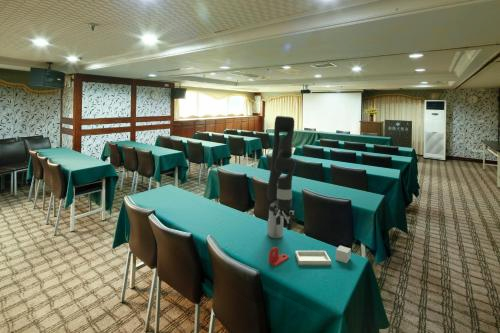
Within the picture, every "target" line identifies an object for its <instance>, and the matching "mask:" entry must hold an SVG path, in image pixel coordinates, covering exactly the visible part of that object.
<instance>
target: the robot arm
mask: <svg viewBox="0 0 500 333" xmlns="http://www.w3.org/2000/svg"><path fill="white" fill-rule="evenodd" d="M273 126H274V128H273V145H272V146H273V147H272V153H271V162H270V172H269V179H268V184H267V187H266V196H267V199H268V200H269V201H273V202H272V203H270V204H269V206H268V219H267V229H266V230H267V233H266V234H267V236H268V237H269V238H272V239H281V238H282V237H283V236H284V219H285V220H286V230H287V231H291V230H292V228H293V227H292V226H293V225H292V224H294V223H296V211H295V210H291V207H292V206H293V205H292V203H293V202H292V200H293V190H292V188H293V187H292V186H293V182H292V181H293V177H294V173H295V169H296V167H297V163H296V162H297V161H296V159H294V158H292V156H293V138H294V131H295V119H294V117H292V116H289V115H288V116H287V115H277V116H275V119H274V125H273ZM280 133H286V135H284V137H283V138H282V139H281V137H280ZM283 173H287V174H286V175H282V174H283Z"/></svg>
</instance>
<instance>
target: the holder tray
mask: <svg viewBox="0 0 500 333" xmlns="http://www.w3.org/2000/svg"><path fill="white" fill-rule="evenodd" d="M294 252H295V254H294V255H295V258H296V261H297V263H298V266H332V260H331V258H330V257H329V255H328V253H327V251H326V250H295V251H294Z"/></svg>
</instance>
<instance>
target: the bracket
mask: <svg viewBox="0 0 500 333" xmlns="http://www.w3.org/2000/svg"><path fill="white" fill-rule="evenodd" d="M289 258H290V257H289V255H287V254H285V253H281V254H280V249H279V248H278V247H277V246H273V247H271V249H270V251H269V254H268V264H269V263H270V264H269V265H271V264H272V266H273V265H274V266H273V267H275V266H276V267H277V266H279V265H280V264H282V263H284V262H285V261H287V260H289Z"/></svg>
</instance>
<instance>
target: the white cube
mask: <svg viewBox="0 0 500 333" xmlns="http://www.w3.org/2000/svg"><path fill="white" fill-rule="evenodd" d="M351 252H352V248H350V247H346V246H343V245H339V246H338V247H337V248H336V249H335V260H336V261H337V262H342V263H345V264H348V262H349V261H350V259H351Z"/></svg>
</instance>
